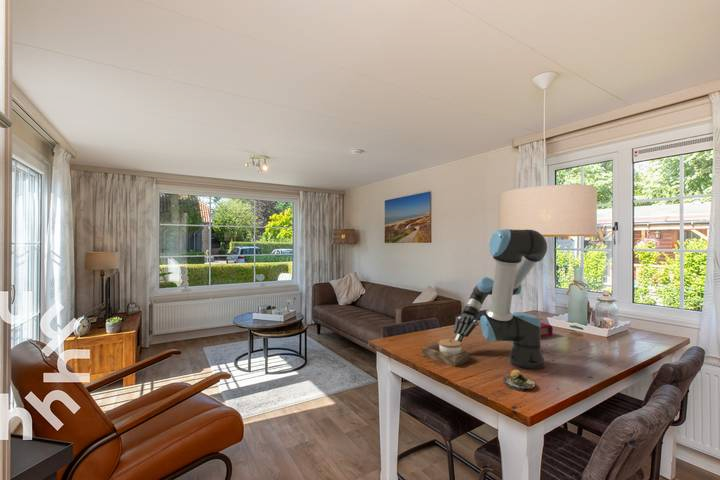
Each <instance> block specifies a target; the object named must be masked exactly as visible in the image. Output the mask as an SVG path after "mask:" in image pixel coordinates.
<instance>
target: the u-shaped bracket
mask: <svg viewBox="0 0 720 480" xmlns="http://www.w3.org/2000/svg"><path fill="white" fill-rule="evenodd" d="M421 356H422V357H424V356H425V357H424V358H427V357H428V358H427V359H430V358H431V359H430V360H433V361H436V360H437V362H439V361H440V362H439V363H442V362H443V363H442V364H445V363H446V365H448V364H449V365H448V366H451V365H452V367H454V366H456V367H457V366H460V365H462V364H465V363H467V362H469V361H470V352H469V351H463V352H462V351H461V353H460V354H457V355H455V356H452V355H449V354H446V353H443V352H440V348H439V342H434V343H433V344H430V345H427V346H424V347H421Z"/></svg>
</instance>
